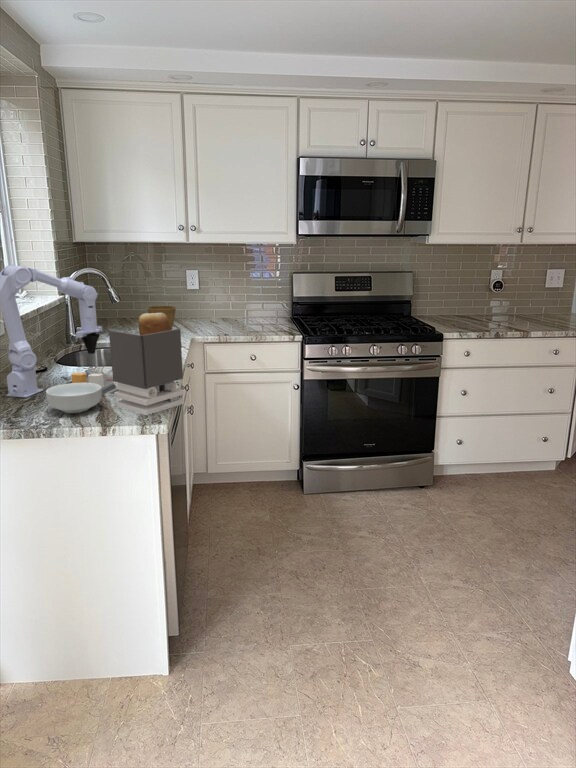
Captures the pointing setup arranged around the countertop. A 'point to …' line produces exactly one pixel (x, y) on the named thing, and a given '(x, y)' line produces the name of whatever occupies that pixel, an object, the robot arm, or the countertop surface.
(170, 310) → the plant pot
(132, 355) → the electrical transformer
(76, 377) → the orange block
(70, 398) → the cereal bowl
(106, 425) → the countertop surface
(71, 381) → the cords
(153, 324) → the bread loaf
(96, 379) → the breaker panel
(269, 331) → the countertop surface
